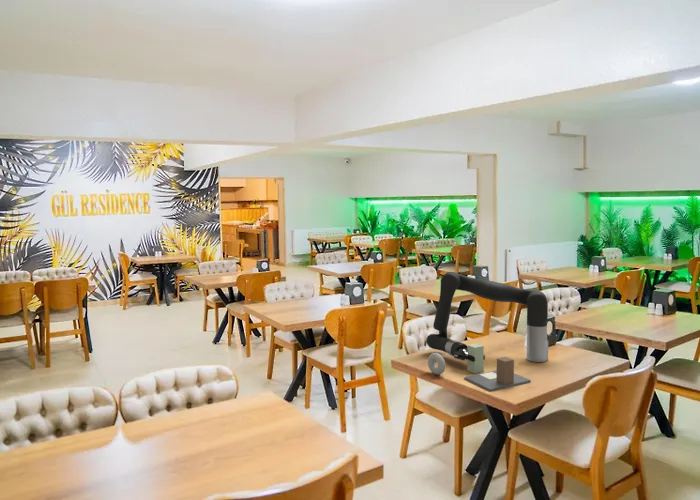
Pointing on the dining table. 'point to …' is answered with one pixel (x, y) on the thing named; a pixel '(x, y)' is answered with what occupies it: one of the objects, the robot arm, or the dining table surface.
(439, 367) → the donut
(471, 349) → the green pillar
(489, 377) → the build plate
